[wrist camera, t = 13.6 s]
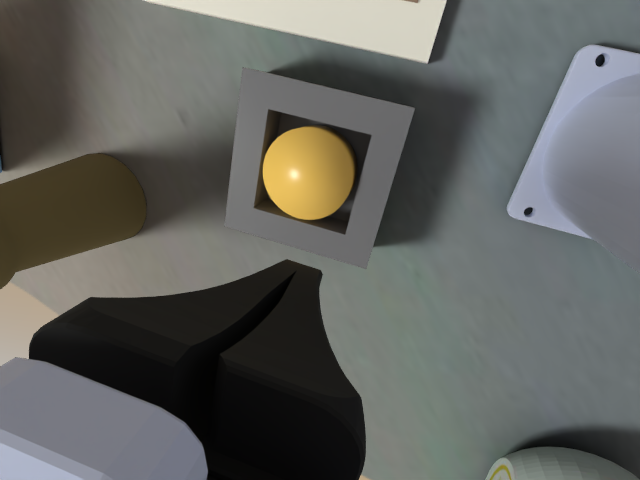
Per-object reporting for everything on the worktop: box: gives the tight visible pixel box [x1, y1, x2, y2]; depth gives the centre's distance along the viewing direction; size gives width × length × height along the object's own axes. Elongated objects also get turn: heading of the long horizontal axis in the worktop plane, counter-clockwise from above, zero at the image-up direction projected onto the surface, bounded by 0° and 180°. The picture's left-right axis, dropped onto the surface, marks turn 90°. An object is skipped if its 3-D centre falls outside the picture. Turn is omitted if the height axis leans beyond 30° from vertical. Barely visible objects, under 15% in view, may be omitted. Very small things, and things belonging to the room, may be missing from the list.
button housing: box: [224, 67, 415, 269], centre depth 19 cm, size 8×8×3 cm
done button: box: [263, 125, 358, 220], centre depth 18 cm, size 4×4×2 cm
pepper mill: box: [0, 153, 146, 289], centre depth 19 cm, size 6×6×11 cm
